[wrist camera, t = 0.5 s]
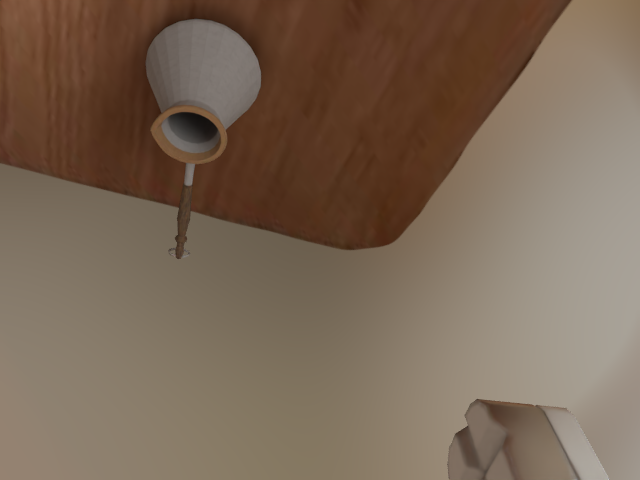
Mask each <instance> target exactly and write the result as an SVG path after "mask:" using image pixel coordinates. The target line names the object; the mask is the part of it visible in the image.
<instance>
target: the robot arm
mask: <svg viewBox="0 0 640 480" xmlns="http://www.w3.org/2000/svg"><path fill="white" fill-rule="evenodd" d="M465 418H466V420H467V424H468V426H467V427H465V428H464V429H462V430H461V431H459V432H458V433H456V434H455V436H454V438H453V441H452V443H451V445H450V448H449V455H448V464H447V465H448V475H449V480H610V479H609V477H608V476H607V474H606V472H605V470H604V469H603V467H602V465H601V463H600V461H599V459H598V458H597V456H596V455H595V452H594V451H593V449H592V447H591V445H590V443H589V442H588V440H587V438H586V436H585V435H584V433H583V431H582V429H581V427H580V426H579V424H578V422H577V420H576V418H575V417H574V415H573V414H572V413H571V412H570V411H569V410H567V409H566V408H559V407H548V406H539V405H536V406H534V405H530V404H520V403H510V402H500V401H490V400H480V399H477V400H475V401H474V402H473V403H471V404H470V406H469V408H468V410H467V412H466V414H465Z"/></svg>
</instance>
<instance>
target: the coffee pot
mask: <svg viewBox="0 0 640 480" xmlns="http://www.w3.org/2000/svg"><path fill="white" fill-rule="evenodd" d="M146 71H147V78H148V80H149V83H150V85H151V88H152V90H153V93H154V95H155V97H156V100H157V102H158V105H159V107H160V110H161V112H162V113H161V114H160V115H159V116H158V117H157V119H156V120H155V121H154V122H153V124H152V126H151V127H150V130H151V132H152V134H153V137H154V139H155V140H156V142H157V143H158V145H159V146H160V147H161V149H162V150H163V151H164V152H165V153H167V154H168V155H169V156H171V157H172V158H174V159H176V160H178V161H181V162H185V163H186V170H185V181H184V184H183V189H182V195H181V200H180V206H179V212H178V217H177V221H178V235H177V236H176V237H175V240H176V242H177V247H176V248H171V249H169V250H168V252H169V254H170V255H172V256H175V257H176V258H177V259H181V258H182V257H188V256H189V255H190V252H189V251H187V250H185V249H184V247H183V246H184V243H185V242H186V240H187V237H186V236H185V234H186V231H187V227H188V224H189V221H190V211H191V197H192V180H193V173H194V167H195V164H201V163H207V162H210V161H212V160H214V159H216V158H217V157H219V156H220V155H221V153H222V152H223V151H224V150H225V147H226V144H227V133H226V131H225V130H226V129H227V128H228V127H229V126H230V125H231V124H232V123H233V122H235V121H236V120H237V119H238V118H239V117H240V116H241V115H242V114H243V113H244V112H246V111H247V110H248V109H249V108H250V106H251V105H252V104H253V102H254V101H255V100H256V98H257V95H258V92H259V89H260V87H261V71H260V67H259V63H258V60H257V57H256V56H255V54H254V52H253V50H252V49H251V47H250V46H249V45H248V43H247V42H246V41H245V40H244V39H243V38H242V37H241V36H240V35H239V34H238V33H236V32H235V31H233V30H232V29H230V28H229V27H227V26H225V25H223V24H220V23H217V22H214V21H211V20H203V19H191V20H185V21H180V22H177V23H175V24H173V25H170V26H168V27H166V28H165V29H164V30H163V31H161V32H160V33H159V34H158V35H157V36H156V37H155V38H154V40H153V41H152V43H151V45H150V47H149V49H148V52H147V58H146ZM171 250H176V255H175V254H172V253H170V251H171ZM184 251H186V252H188V255H184V256H182V255H183V252H184Z"/></svg>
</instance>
